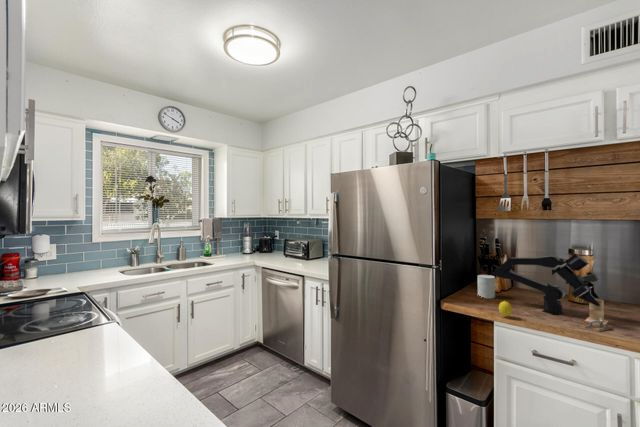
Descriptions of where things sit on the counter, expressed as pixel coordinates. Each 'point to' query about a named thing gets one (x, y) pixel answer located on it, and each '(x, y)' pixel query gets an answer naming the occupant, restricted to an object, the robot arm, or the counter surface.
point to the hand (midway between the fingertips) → (600, 304)
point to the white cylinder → (486, 286)
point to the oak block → (596, 310)
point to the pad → (603, 321)
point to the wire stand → (597, 325)
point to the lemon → (505, 308)
